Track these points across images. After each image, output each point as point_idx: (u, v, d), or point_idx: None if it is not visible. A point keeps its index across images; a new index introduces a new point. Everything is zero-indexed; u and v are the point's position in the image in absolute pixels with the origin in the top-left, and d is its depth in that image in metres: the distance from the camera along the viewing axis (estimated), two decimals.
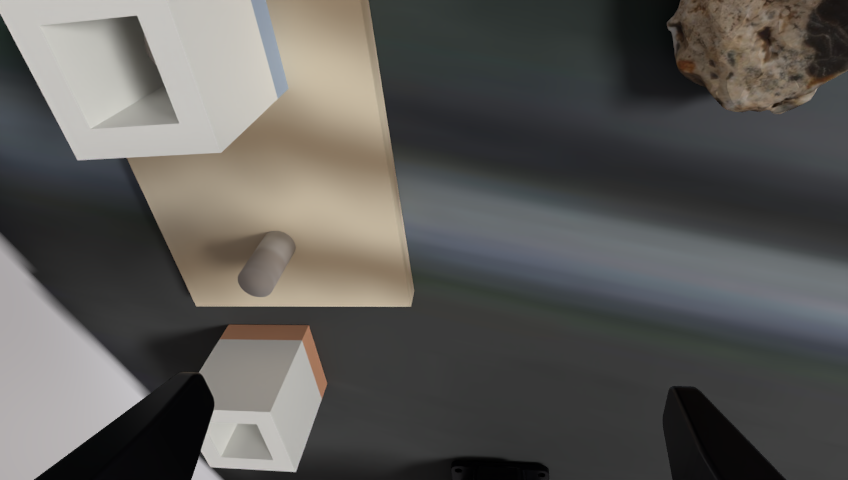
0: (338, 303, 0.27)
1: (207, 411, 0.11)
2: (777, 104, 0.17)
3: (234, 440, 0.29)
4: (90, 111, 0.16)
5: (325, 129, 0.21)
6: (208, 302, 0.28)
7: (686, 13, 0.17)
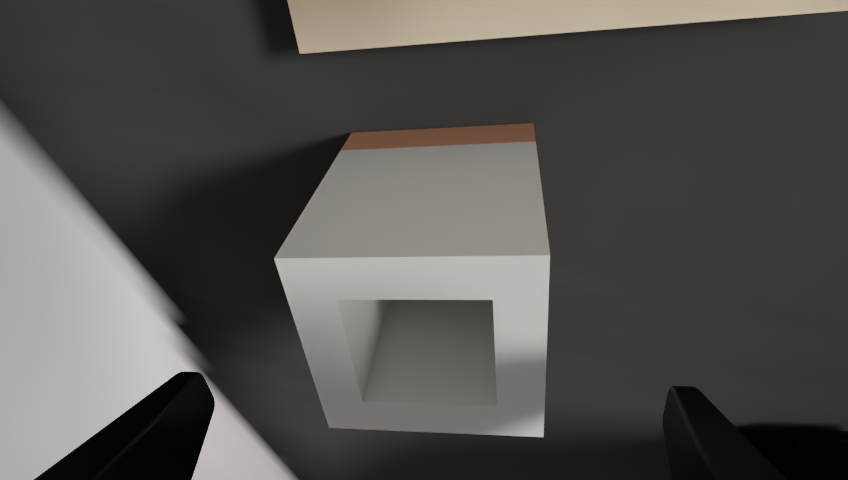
0: (669, 13, 0.11)
1: (207, 411, 0.11)
2: None
3: (384, 366, 0.12)
4: None
5: None
6: (331, 39, 0.12)
7: None
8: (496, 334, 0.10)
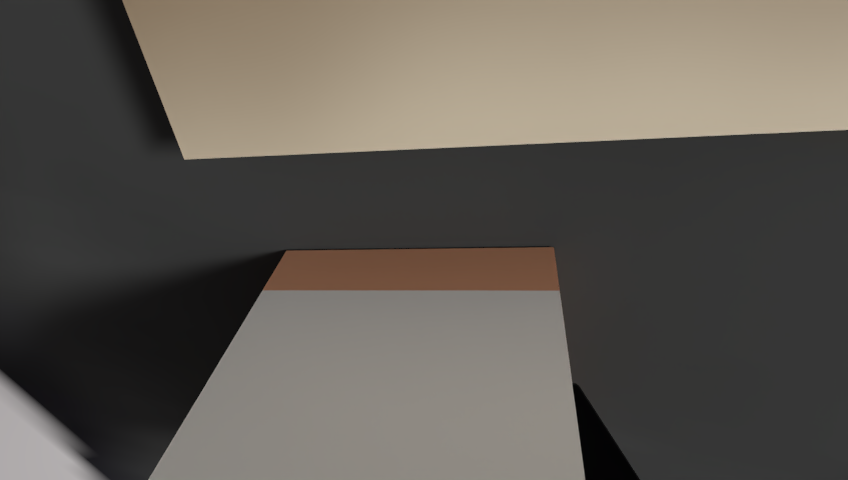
0: (799, 114, 0.06)
1: None
2: None
3: None
4: None
5: None
6: (231, 139, 0.07)
7: None
8: None
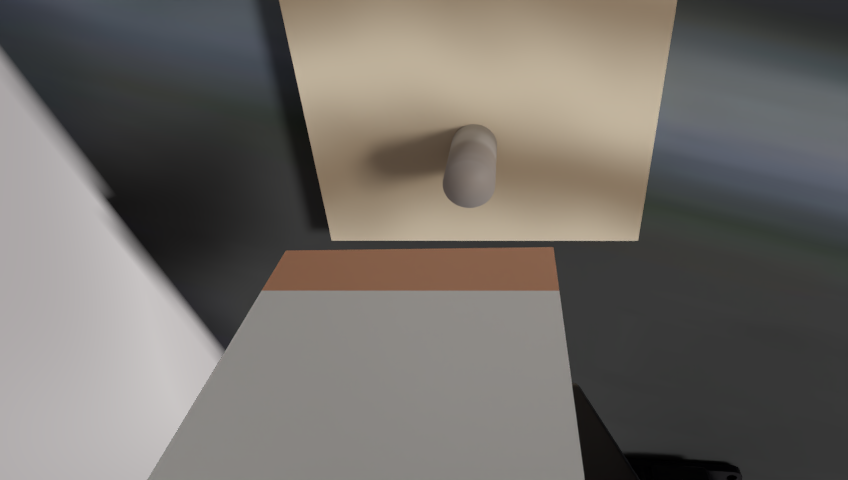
0: (534, 235, 0.20)
1: None
2: None
3: None
4: None
5: None
6: (350, 234, 0.21)
7: None
8: None
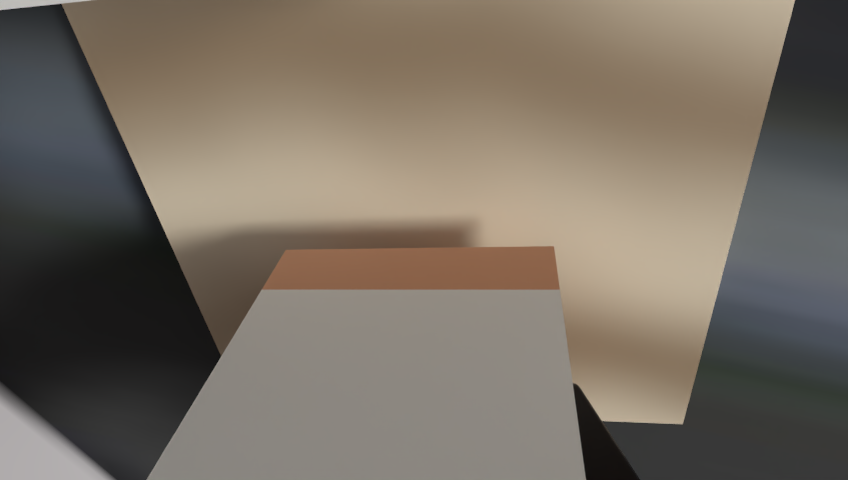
0: None
1: None
2: None
3: None
4: None
5: (625, 30, 0.08)
6: None
7: None
8: None
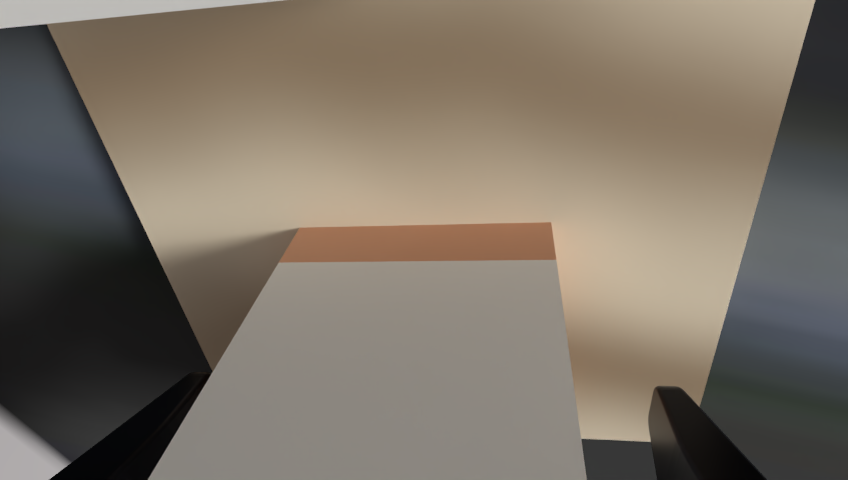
0: None
1: None
2: None
3: None
4: None
5: (632, 40, 0.08)
6: None
7: None
8: None
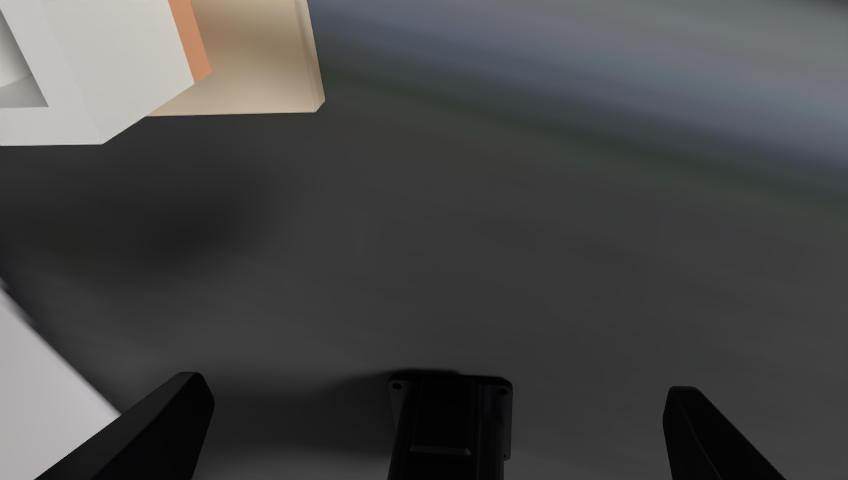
0: (214, 108, 0.19)
1: (207, 411, 0.11)
2: None
3: None
4: None
5: None
6: None
7: None
8: (5, 14, 0.12)
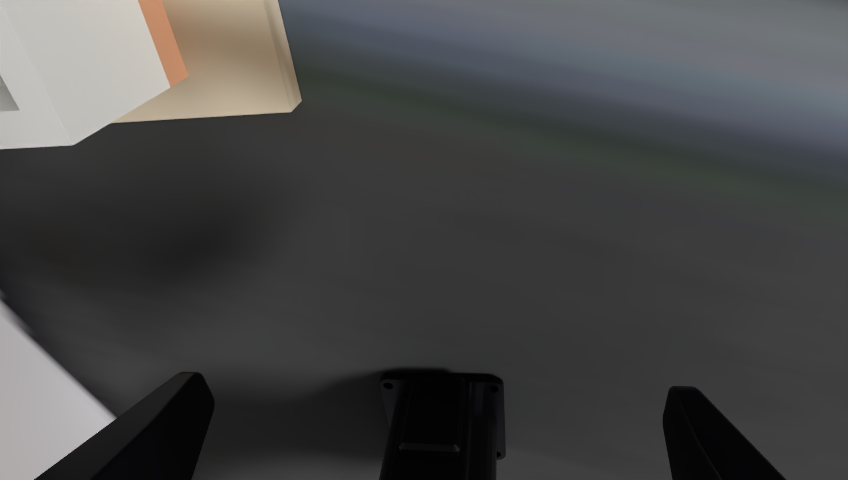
0: (192, 111, 0.19)
1: (207, 411, 0.11)
2: None
3: None
4: None
5: None
6: None
7: None
8: None
